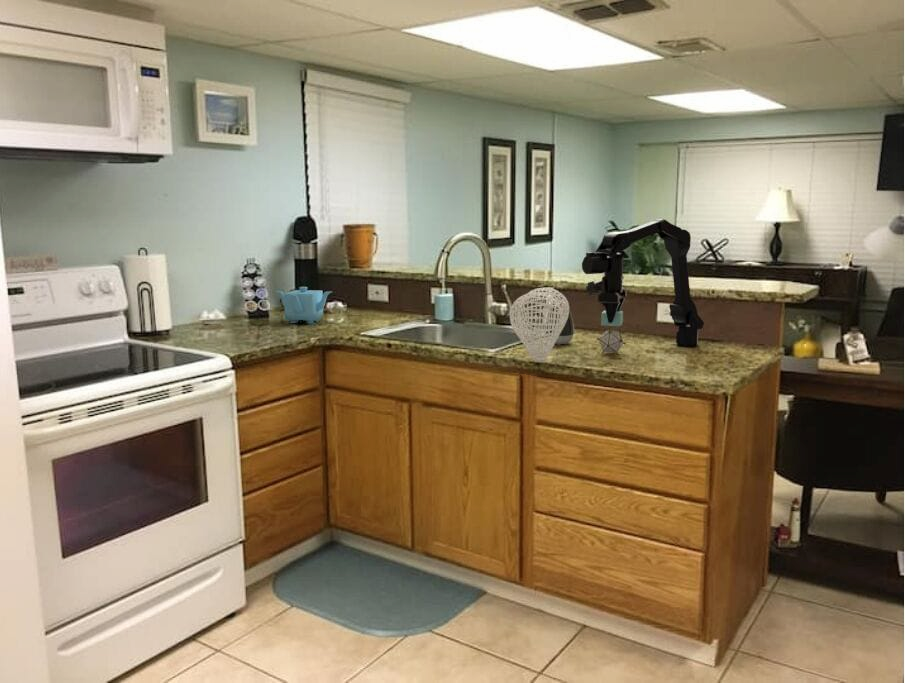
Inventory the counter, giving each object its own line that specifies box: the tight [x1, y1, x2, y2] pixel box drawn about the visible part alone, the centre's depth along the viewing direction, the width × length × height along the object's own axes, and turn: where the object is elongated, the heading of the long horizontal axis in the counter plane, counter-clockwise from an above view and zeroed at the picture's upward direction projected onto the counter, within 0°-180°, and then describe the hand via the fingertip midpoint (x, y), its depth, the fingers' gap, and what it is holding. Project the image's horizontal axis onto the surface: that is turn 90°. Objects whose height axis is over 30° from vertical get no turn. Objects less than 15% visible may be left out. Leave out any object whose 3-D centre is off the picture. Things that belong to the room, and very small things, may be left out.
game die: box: [596, 327, 627, 355], centre depth 252 cm, size 9×8×10 cm
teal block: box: [600, 310, 624, 327], centre depth 250 cm, size 6×6×4 cm
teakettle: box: [274, 286, 333, 325], centre depth 322 cm, size 19×19×15 cm
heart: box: [509, 287, 570, 363], centre depth 237 cm, size 28×16×22 cm, turn 163°
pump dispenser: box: [545, 301, 575, 345], centre depth 269 cm, size 10×10×15 cm
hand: (612, 321), depth 251 cm, fingers closed on teal block, 6 cm apart
